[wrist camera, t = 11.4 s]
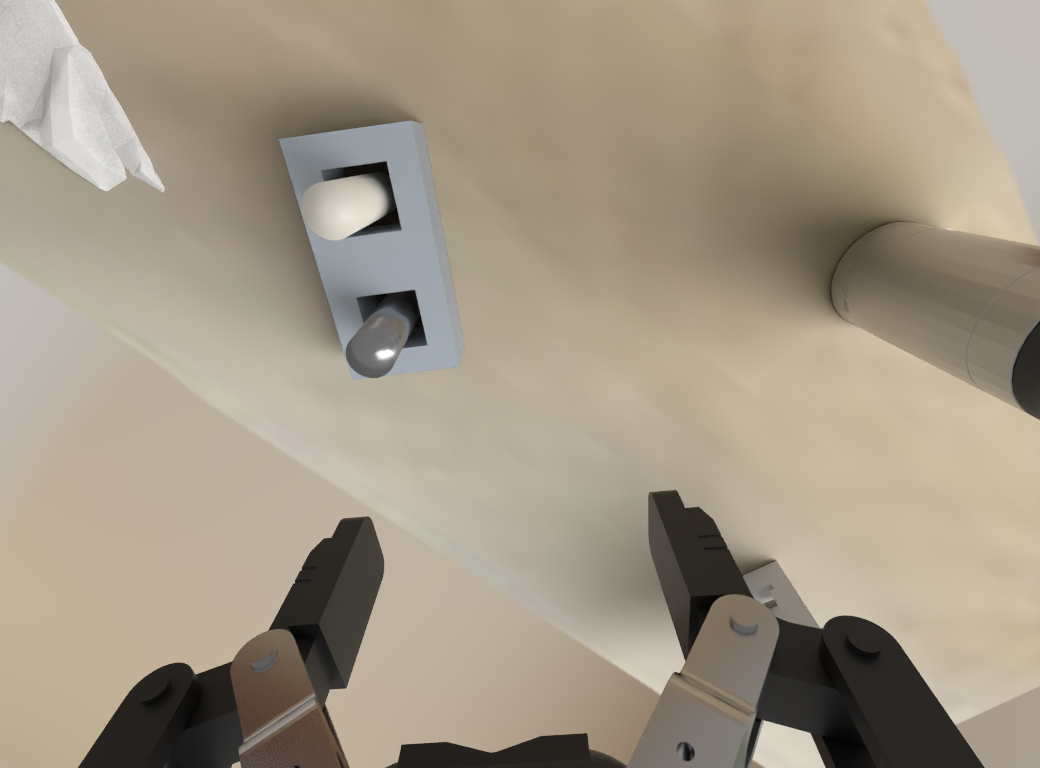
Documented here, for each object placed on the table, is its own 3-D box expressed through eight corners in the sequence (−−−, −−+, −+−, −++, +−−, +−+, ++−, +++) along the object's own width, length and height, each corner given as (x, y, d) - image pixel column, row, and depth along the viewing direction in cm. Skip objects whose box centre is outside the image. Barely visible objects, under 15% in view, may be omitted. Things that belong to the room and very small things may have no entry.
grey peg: (418, 283, 42) (388, 330, 31) (426, 318, 43) (399, 374, 33) (382, 288, 42) (339, 336, 31) (391, 322, 43) (353, 380, 33)
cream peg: (394, 169, 38) (349, 178, 27) (403, 212, 39) (364, 236, 29) (354, 175, 38) (293, 185, 27) (364, 217, 40) (311, 243, 29)
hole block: (422, 123, 37) (410, 120, 32) (464, 344, 45) (459, 366, 40) (306, 140, 37) (278, 139, 32) (367, 356, 45) (352, 380, 40)
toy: (662, 545, 56) (807, 915, 29) (744, 505, 54) (984, 867, 27) (758, 679, 67) (927, 1035, 40) (829, 651, 65) (1059, 1008, 38)
